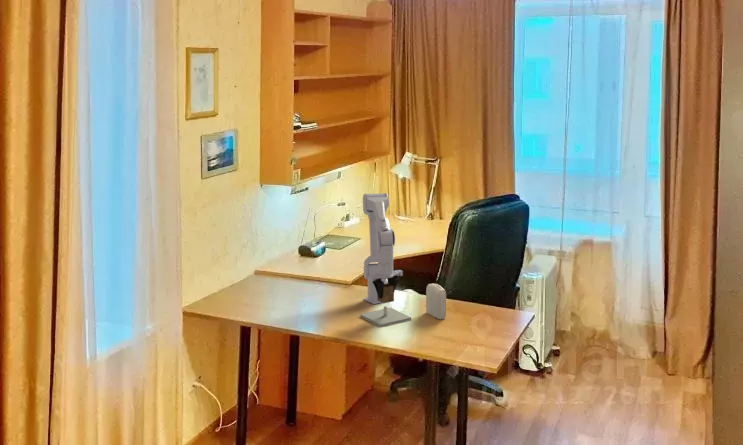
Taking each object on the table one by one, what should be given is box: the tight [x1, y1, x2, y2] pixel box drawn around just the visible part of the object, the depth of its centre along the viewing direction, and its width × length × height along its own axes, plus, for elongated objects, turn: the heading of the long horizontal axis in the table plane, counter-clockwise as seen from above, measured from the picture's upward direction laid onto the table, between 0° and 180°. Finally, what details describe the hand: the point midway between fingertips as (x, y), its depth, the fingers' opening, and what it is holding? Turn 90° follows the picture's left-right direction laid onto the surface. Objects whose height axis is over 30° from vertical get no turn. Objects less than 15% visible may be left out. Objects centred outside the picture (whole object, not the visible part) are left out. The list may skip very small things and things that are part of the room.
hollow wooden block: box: [377, 283, 395, 304], centre depth 320 cm, size 4×4×6 cm
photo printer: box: [425, 283, 447, 320], centre depth 324 cm, size 10×4×12 cm, turn 26°
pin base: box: [359, 305, 412, 328], centre depth 321 cm, size 14×14×5 cm
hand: (385, 296), depth 320 cm, fingers closed on hollow wooden block, 4 cm apart
